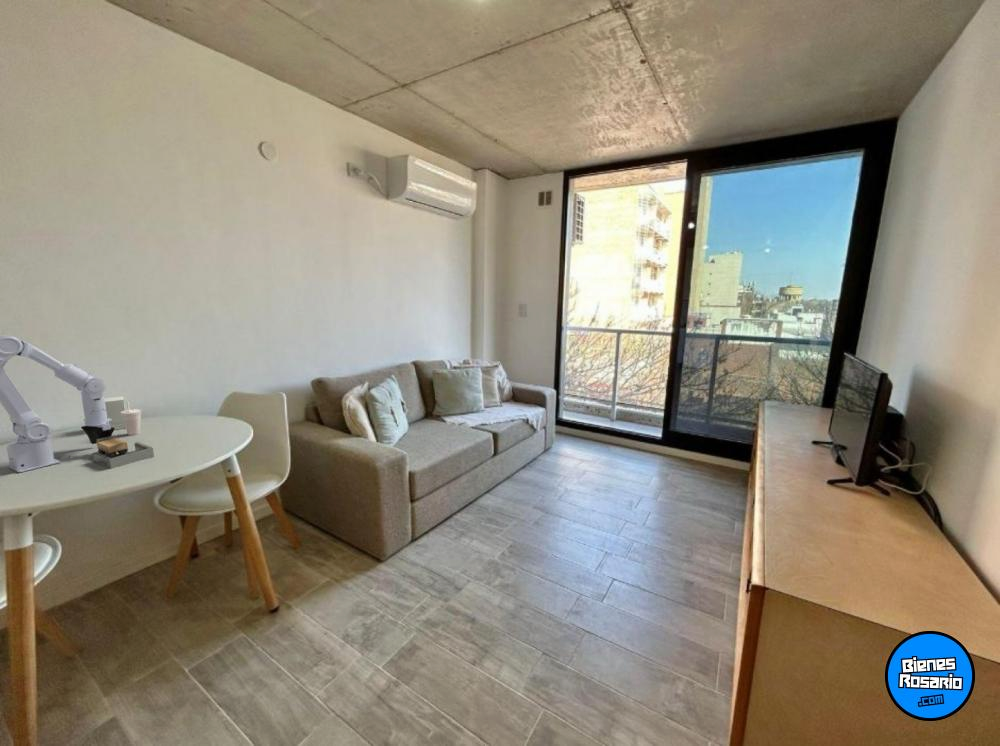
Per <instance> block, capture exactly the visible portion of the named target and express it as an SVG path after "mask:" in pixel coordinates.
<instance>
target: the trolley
mask: <svg viewBox="0 0 1000 746" xmlns="http://www.w3.org/2000/svg"><path fill="white" fill-rule="evenodd" d="M96 441H97V443H96V446H97V449H98V450H97V453H100V454H102V455H105V456H107V457H110V458H113V457H116V455H117V453H118V454H119V455H125V454H128V451H129V449H128V442H127V441H125V440H122V439H120V438H117V435H111V436H109V437H105V438H101V439H96Z"/></svg>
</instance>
